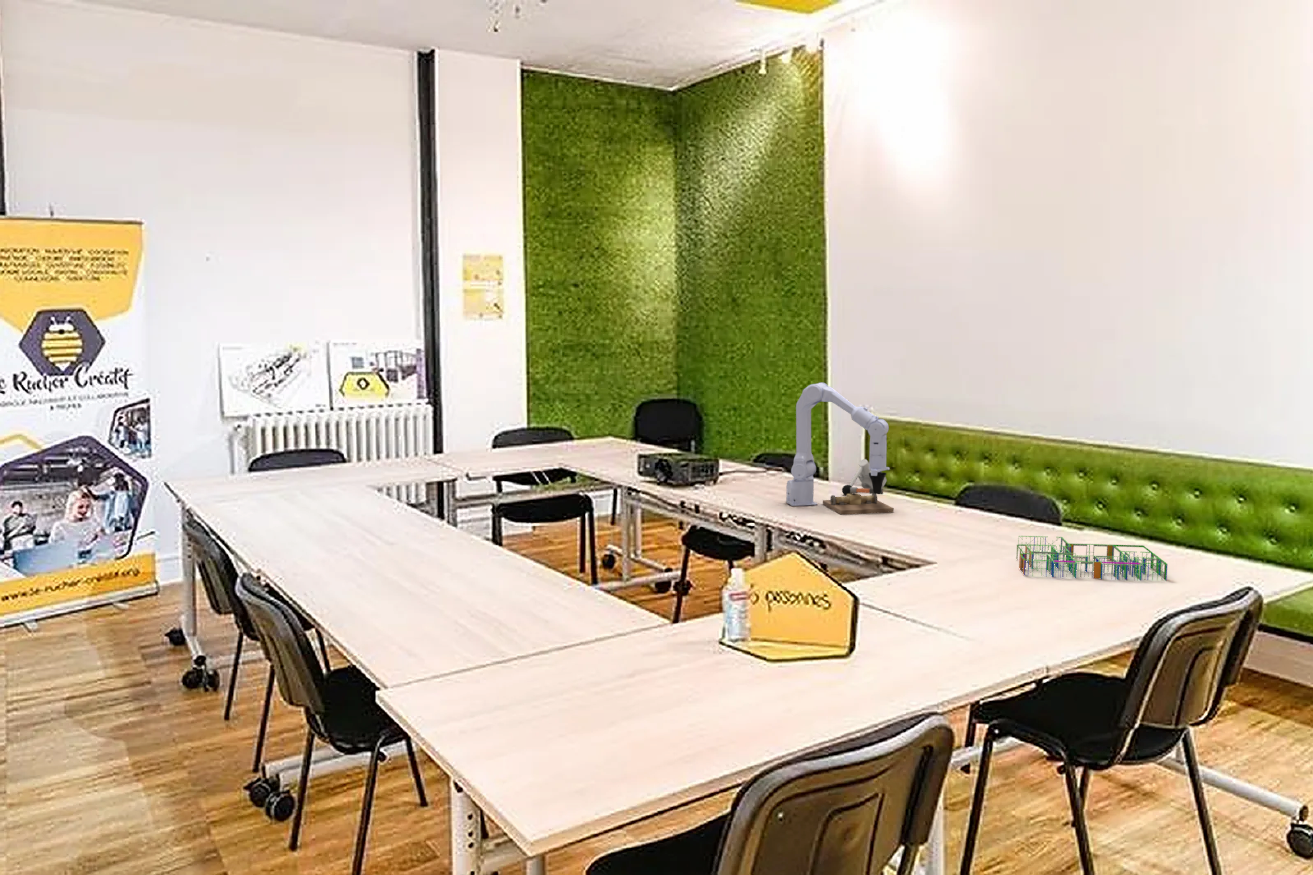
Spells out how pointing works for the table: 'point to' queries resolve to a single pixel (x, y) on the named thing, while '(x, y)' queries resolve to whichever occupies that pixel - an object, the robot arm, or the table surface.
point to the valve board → (857, 504)
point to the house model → (1097, 565)
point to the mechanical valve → (861, 478)
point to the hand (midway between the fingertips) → (877, 493)
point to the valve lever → (863, 490)
